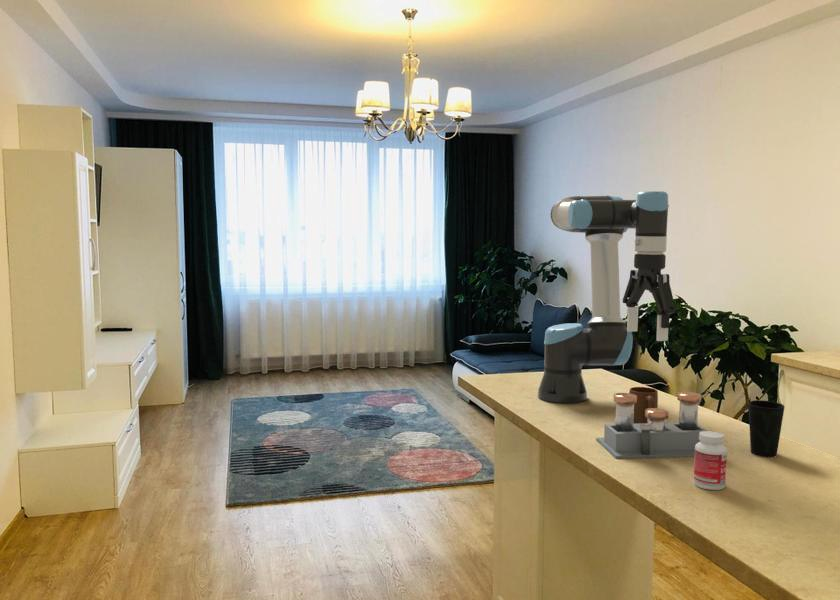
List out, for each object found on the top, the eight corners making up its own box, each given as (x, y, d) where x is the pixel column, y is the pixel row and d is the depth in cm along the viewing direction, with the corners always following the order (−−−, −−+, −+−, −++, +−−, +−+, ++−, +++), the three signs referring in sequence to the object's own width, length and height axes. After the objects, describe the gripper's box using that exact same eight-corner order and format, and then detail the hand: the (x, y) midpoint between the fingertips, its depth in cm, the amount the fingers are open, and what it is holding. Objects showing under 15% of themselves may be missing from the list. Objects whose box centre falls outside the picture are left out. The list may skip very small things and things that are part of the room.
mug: (666, 431, 182) (667, 397, 181) (637, 431, 182) (638, 397, 181) (651, 419, 194) (652, 386, 193) (624, 419, 194) (625, 386, 193)
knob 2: (672, 425, 171) (673, 391, 170) (693, 424, 172) (694, 391, 171) (682, 431, 166) (683, 397, 165) (703, 430, 166) (705, 396, 165)
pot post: (637, 451, 164) (638, 423, 163) (648, 451, 164) (649, 423, 163) (641, 455, 161) (642, 427, 160) (652, 455, 161) (653, 426, 161)
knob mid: (640, 441, 171) (641, 408, 170) (661, 440, 172) (662, 407, 171) (649, 448, 166) (650, 414, 165) (671, 447, 166) (672, 413, 165)
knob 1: (609, 426, 170) (610, 393, 169) (630, 425, 171) (631, 392, 170) (617, 432, 165) (618, 398, 164) (639, 432, 165) (640, 398, 164)
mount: (596, 440, 175) (596, 420, 174) (691, 438, 177) (692, 419, 176) (615, 458, 161) (616, 437, 160) (719, 455, 163) (720, 435, 162)
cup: (738, 450, 166) (741, 402, 165) (761, 446, 169) (764, 399, 168) (765, 460, 159) (768, 409, 158) (789, 456, 162) (792, 406, 161)
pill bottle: (725, 492, 140) (728, 439, 139) (693, 488, 142) (695, 436, 141) (724, 482, 146) (726, 431, 145) (693, 478, 148) (695, 428, 147)
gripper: (611, 250, 185) (608, 328, 188) (666, 256, 161) (662, 345, 164) (636, 250, 187) (633, 327, 190) (694, 256, 163) (689, 344, 166)
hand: (646, 336), depth 177 cm, fingers open, 13 cm apart
